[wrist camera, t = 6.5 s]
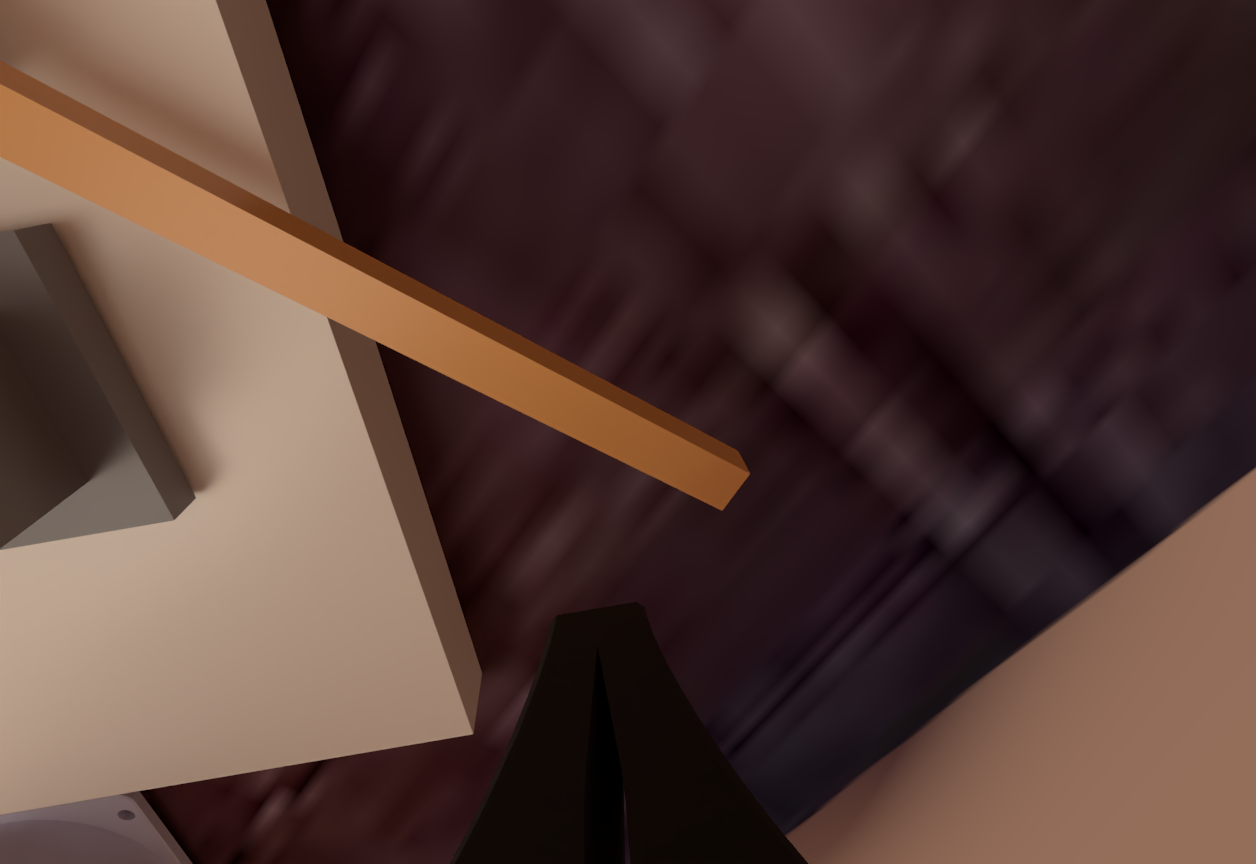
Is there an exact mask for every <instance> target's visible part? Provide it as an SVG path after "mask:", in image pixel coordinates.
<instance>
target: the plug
mask: <svg viewBox="0 0 1256 864" xmlns="http://www.w3.org/2000/svg"><path fill="white" fill-rule="evenodd" d="M195 499H196V497H195V495H194V493H193V491H192V489H191V487H190V485H189V483H188V481H187V480H186V478H185V476H184V474H183V472H182V470H181V468H180V466H179V464H178V462H177V461H176V459H175V457H174V455H173V453H172V451H171V449H170V447H169V445H168V443H167V442H166V440H165V438H164V436H163V434H162V432H161V430H160V428H159V426H158V425H157V423H156V421H155V419H154V417H153V415H152V413H151V411H150V409H149V407H148V406H147V404H146V402H145V400H144V398H143V396H142V394H141V392H140V390H139V388H138V387H137V385H136V383H135V381H134V379H133V377H132V375H131V373H130V371H129V369H128V368H127V366H126V364H125V362H124V360H123V358H122V356H121V354H120V352H119V350H118V349H117V347H116V345H115V343H114V341H113V339H112V337H111V335H110V333H109V331H108V330H107V328H106V326H105V324H104V322H103V320H102V318H101V316H100V314H99V313H98V311H97V309H96V307H95V305H94V303H93V301H92V299H91V297H90V295H89V294H88V292H87V290H86V288H85V286H84V284H83V282H82V280H81V278H80V276H79V275H78V273H77V271H76V269H75V267H74V265H73V263H72V261H71V259H70V257H69V256H68V254H67V252H66V250H65V248H64V246H63V244H62V242H61V240H60V238H59V237H58V235H57V233H56V231H55V229H54V227H53V225H52V223H47V224H41V225H35V226H29V227H22V228H16V229H10V230H4V231H0V550H4V549H9V548H15V547H21V546H27V545H33V544H39V543H45V542H50V541H56V540H62V539H68V538H74V537H80V536H86V535H91V534H97V533H103V532H109V531H115V530H121V529H127V528H132V527H138V526H144V525H150V524H156V523H162V522H168V521H173V520H175V519H176V518H177V517H178V516H179V515H180V514H181V513H182V512H183V511H184V510H185V509H186V508H187V507H188V506H189V505H190V504H191V503H192V502H193V501H194V500H195Z"/></svg>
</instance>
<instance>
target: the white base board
mask: <svg viewBox="0 0 1256 864" xmlns="http://www.w3.org/2000/svg"><path fill="white" fill-rule="evenodd" d="M0 60H1V61H2V62H4V63H6V64H8V65H10V66H12V67H14V68H16V69H18V70H19V71H21V72H23V73H25V74H27V75H29V76H31V77H33V78H35V79H36V80H38V81H40V82H42V83H44V84H46V85H48V86H50V87H52V88H53V89H55V90H57V91H59V92H61V93H63V94H65V95H67V96H69V97H70V98H72V99H74V100H76V101H78V102H80V103H82V104H84V105H86V106H87V107H89V108H91V109H93V110H95V111H97V112H99V113H101V114H103V115H104V116H106V117H108V118H110V119H112V120H114V121H116V122H118V123H120V124H121V125H123V126H125V127H127V128H129V129H131V130H133V131H135V132H137V133H138V134H140V135H142V136H144V137H146V138H148V139H150V140H152V141H154V142H155V143H157V144H159V145H161V146H163V147H165V148H167V149H169V150H171V151H172V152H174V153H176V154H178V155H180V156H182V157H184V158H186V159H188V160H189V161H191V162H193V163H195V164H197V165H199V166H201V167H203V168H205V169H206V170H208V171H210V172H212V173H214V174H216V175H218V176H220V177H222V178H223V179H225V180H227V181H229V182H231V183H233V184H235V185H237V186H239V187H240V188H242V189H244V190H246V191H248V192H250V193H252V194H254V195H256V196H257V197H259V198H261V199H263V200H265V201H267V202H269V203H271V204H273V205H274V206H276V207H278V208H280V209H282V210H284V211H286V212H288V213H290V214H291V215H293V216H295V217H297V218H299V219H301V220H303V221H305V222H307V223H308V224H310V225H312V226H314V227H316V228H318V229H320V230H322V231H324V232H325V233H327V234H329V235H331V236H333V237H335V238H337V239H339V240H341V241H342V242H343V239H342V236H341V233H340V230H339V227H338V224H337V220H336V217H335V214H334V211H333V208H332V205H331V202H330V199H329V196H328V192H327V189H326V186H325V183H324V180H323V177H322V174H321V171H320V168H319V165H318V161H317V158H316V155H315V152H314V149H313V146H312V143H311V140H310V137H309V133H308V130H307V127H306V124H305V121H304V118H303V115H302V112H301V109H300V105H299V102H298V99H297V96H296V93H295V90H294V87H293V84H292V81H291V77H290V74H289V71H288V68H287V65H286V62H285V59H284V56H283V53H282V49H281V46H280V43H279V40H278V37H277V34H276V31H275V28H274V25H273V21H272V18H271V15H270V12H269V9H268V6H267V3H266V0H0ZM47 223H52V225H53V227H54V229H55V231H56V233H57V235H58V237H59V238H60V240H61V242H62V244H63V246H64V248H65V250H66V252H67V254H68V256H69V257H70V259H71V261H72V263H73V265H74V267H75V269H76V271H77V273H78V275H79V276H80V278H81V280H82V282H83V284H84V286H85V288H86V290H87V292H88V294H89V295H90V297H91V299H92V301H93V303H94V305H95V307H96V309H97V311H98V313H99V314H100V316H101V318H102V320H103V322H104V324H105V326H106V328H107V330H108V331H109V333H110V335H111V337H112V339H113V341H114V343H115V345H116V347H117V349H118V350H119V352H120V354H121V356H122V358H123V360H124V362H125V364H126V366H127V368H128V369H129V371H130V373H131V375H132V377H133V379H134V381H135V383H136V385H137V387H138V388H139V390H140V392H141V394H142V396H143V398H144V400H145V402H146V404H147V406H148V407H149V409H150V411H151V413H152V415H153V417H154V419H155V421H156V423H157V425H158V426H159V428H160V430H161V432H162V434H163V436H164V438H165V440H166V442H167V443H168V445H169V447H170V449H171V451H172V453H173V455H174V457H175V459H176V461H177V462H178V464H179V466H180V468H181V470H182V472H183V474H184V476H185V478H186V480H187V481H188V483H189V485H190V487H191V489H192V491H193V493H194V495H195V497H196V499H195V500H194V501H193V502H192V503H191V504H190V505H189V506H188V507H187V508H186V509H185V510H184V511H183V512H182V513H181V514H180V515H179V516H178V517H177V518H176V519H175V520H173V521H168V522H162V523H156V524H150V525H144V526H138V527H132V528H127V529H121V530H115V531H109V532H103V533H97V534H91V535H86V536H80V537H74V538H68V539H62V540H56V541H50V542H45V543H39V544H33V545H27V546H21V547H15V548H9V549H4V550H0V815H2V814H8V813H14V812H19V811H25V810H31V809H37V808H43V807H49V806H55V805H60V804H66V803H72V802H78V801H84V800H90V799H96V798H102V797H107V796H113V795H119V794H125V793H131V792H137V791H143V790H148V789H154V788H160V787H166V786H172V785H178V784H184V783H190V782H195V781H201V780H207V779H213V778H219V777H225V776H231V775H237V774H242V773H248V772H254V771H260V770H266V769H272V768H278V767H283V766H289V765H295V764H301V763H307V762H313V761H319V760H325V759H330V758H336V757H342V756H348V755H354V754H360V753H366V752H371V751H377V750H383V749H389V748H395V747H401V746H407V745H413V744H418V743H424V742H430V741H436V740H442V739H448V738H454V737H460V736H465V735H471V734H473V732H474V725H475V719H476V712H477V705H478V698H479V691H480V684H481V677H482V671H481V668H480V665H479V662H478V659H477V656H476V653H475V650H474V646H473V643H472V640H471V637H470V634H469V631H468V628H467V625H466V622H465V618H464V615H463V612H462V609H461V606H460V603H459V600H458V597H457V594H456V590H455V587H454V584H453V581H452V578H451V575H450V572H449V569H448V566H447V562H446V559H445V556H444V553H443V550H442V547H441V544H440V541H439V538H438V534H437V531H436V528H435V525H434V522H433V519H432V516H431V513H430V510H429V507H428V503H427V500H426V497H425V494H424V491H423V488H422V485H421V482H420V479H419V475H418V472H417V469H416V466H415V463H414V460H413V457H412V454H411V451H410V447H409V444H408V441H407V438H406V435H405V432H404V429H403V426H402V423H401V419H400V416H399V413H398V410H397V407H396V404H395V401H394V398H393V395H392V391H391V388H390V385H389V382H388V379H387V376H386V373H385V370H384V367H383V363H382V360H381V357H380V354H379V351H378V348H377V345H376V342H375V340H373V339H371V338H369V337H367V336H365V335H363V334H360V333H358V332H356V331H354V330H352V329H350V328H348V327H346V326H344V325H342V324H340V323H338V322H336V321H334V320H332V319H330V318H328V317H326V316H324V315H322V314H320V313H318V312H316V311H314V310H312V309H309V308H307V307H305V306H303V305H301V304H299V303H297V302H295V301H293V300H291V299H289V298H287V297H285V296H283V295H281V294H279V293H277V292H275V291H273V290H271V289H269V288H267V287H265V286H263V285H260V284H258V283H256V282H254V281H252V280H250V279H248V278H246V277H244V276H242V275H240V274H238V273H236V272H234V271H232V270H230V269H228V268H226V267H224V266H222V265H220V264H218V263H216V262H214V261H212V260H209V259H207V258H205V257H203V256H201V255H199V254H197V253H195V252H193V251H191V250H189V249H187V248H185V247H183V246H181V245H179V244H177V243H175V242H173V241H171V240H169V239H167V238H165V237H163V236H160V235H158V234H156V233H154V232H152V231H150V230H148V229H146V228H144V227H142V226H140V225H138V224H136V223H134V222H132V221H130V220H128V219H126V218H124V217H122V216H120V215H118V214H116V213H114V212H112V211H109V210H107V209H105V208H103V207H101V206H99V205H97V204H95V203H93V202H91V201H89V200H87V199H85V198H83V197H81V196H79V195H77V194H75V193H73V192H71V191H69V190H67V189H65V188H63V187H61V186H58V185H56V184H54V183H52V182H50V181H48V180H46V179H44V178H42V177H40V176H38V175H36V174H34V173H32V172H30V171H28V170H26V169H24V168H22V167H20V166H18V165H16V164H14V163H12V162H9V161H7V160H5V159H3V158H1V157H0V231H4V230H10V229H16V228H22V227H29V226H35V225H41V224H47Z"/></svg>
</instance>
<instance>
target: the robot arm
mask: <svg viewBox="0 0 1256 864" xmlns="http://www.w3.org/2000/svg"><path fill="white" fill-rule="evenodd" d="M623 784H624V787H623ZM624 791H625V798H626V810H627V823H628V835H629V848H630V860H631V864H808V863H807V862H806V860H805V859H804V858H803V857H802V856H801V854H800V853H799V852H798V851H797V850H796V848H795V847H794V846H793V845H792V844H791V843H790V841H789V840H788V839H787V838H786V837H785V835H784V834H783V833H782V832H781V830H780V829H779V828H778V827H777V825H776V824H775V823H774V822H773V820H772V819H771V818H770V817H769V815H768V814H767V813H766V812H765V810H764V809H763V808H762V807H761V805H760V804H759V803H758V801H757V800H756V799H755V798H754V796H753V795H752V794H751V792H750V791H749V790H748V788H747V787H746V786H745V784H744V783H743V782H742V780H741V779H740V777H739V776H738V775H737V773H736V772H735V771H734V769H733V768H732V766H731V765H730V764H729V762H728V761H727V759H726V758H725V756H724V755H723V753H722V752H721V751H720V749H719V748H718V746H717V745H716V743H715V742H714V740H713V739H712V737H711V736H710V734H709V733H708V731H707V730H706V728H705V727H704V725H703V724H702V722H701V721H700V719H699V717H698V716H697V714H696V713H695V711H694V709H693V708H692V706H691V704H690V703H689V701H688V699H687V698H686V696H685V694H684V693H683V691H682V689H681V688H680V686H679V684H678V683H677V681H676V679H675V677H674V675H673V674H672V672H671V670H670V668H669V666H668V664H667V662H666V660H665V658H664V656H663V654H662V652H661V650H660V648H659V646H658V644H657V642H656V639H655V637H654V635H653V632H652V630H651V628H650V625H649V622H648V619H647V616H646V613H645V608H644V607H643V606H642V605H640V604H638V603H637V602H634V603H628V604H622V605H616V606H610V607H604V608H598V609H592V610H586V611H581V612H575V613H569V614H563V615H557V616H556V617H555V618H554V619H553V621H552V622H551V624H550V628H549V632H548V636H547V640H546V643H545V647H544V650H543V654H542V657H541V660H540V663H539V666H538V669H537V672H536V675H535V678H534V681H533V683H532V686H531V689H530V692H529V695H528V697H527V700H526V702H525V705H524V707H523V710H522V712H521V715H520V717H519V720H518V722H517V725H516V727H515V730H514V732H513V735H512V737H511V740H510V742H509V745H508V747H507V749H506V751H505V754H504V756H503V758H502V760H501V762H500V764H499V767H498V769H497V771H496V773H495V775H494V777H493V780H492V782H491V784H490V786H489V788H488V790H487V793H486V795H485V797H484V799H483V801H482V803H481V805H480V807H479V809H478V811H477V813H476V815H475V817H474V819H473V821H472V823H471V825H470V827H469V829H468V831H467V833H466V835H465V837H464V839H463V841H462V843H461V845H460V846H459V848H458V850H457V852H456V854H455V856H454V858H453V859H452V861H451V863H450V864H625V831H624ZM0 864H193V863H192V862H191V861H190V859H189V858H188V857H187V855H186V854H185V853H184V851H183V850H182V848H181V847H180V846H179V844H178V843H177V842H176V840H175V839H174V838H173V836H172V835H171V834H170V832H169V831H168V829H167V828H166V827H165V825H164V824H163V823H162V821H161V820H160V819H159V817H158V816H157V814H156V813H155V812H154V810H153V809H152V808H151V806H150V805H149V804H148V802H147V801H146V800H145V798H144V797H143V795H142V794H141V793H140V792H139V791H137V792H131V793H125V794H119V795H113V796H107V797H102V798H96V799H90V800H84V801H78V802H72V803H66V804H60V805H55V806H49V807H43V808H37V809H31V810H25V811H19V812H14V813H8V814H2V815H0Z"/></svg>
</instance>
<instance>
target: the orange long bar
mask: <svg viewBox="0 0 1256 864" xmlns="http://www.w3.org/2000/svg"><path fill="white" fill-rule="evenodd" d="M0 157H1V158H3V159H5V160H7V161H9V162H12V163H14V164H16V165H18V166H20V167H22V168H24V169H26V170H28V171H30V172H32V173H34V174H36V175H38V176H40V177H42V178H44V179H46V180H48V181H50V182H52V183H54V184H56V185H58V186H61V187H63V188H65V189H67V190H69V191H71V192H73V193H75V194H77V195H79V196H81V197H83V198H85V199H87V200H89V201H91V202H93V203H95V204H97V205H99V206H101V207H103V208H105V209H107V210H109V211H112V212H114V213H116V214H118V215H120V216H122V217H124V218H126V219H128V220H130V221H132V222H134V223H136V224H138V225H140V226H142V227H144V228H146V229H148V230H150V231H152V232H154V233H156V234H158V235H160V236H163V237H165V238H167V239H169V240H171V241H173V242H175V243H177V244H179V245H181V246H183V247H185V248H187V249H189V250H191V251H193V252H195V253H197V254H199V255H201V256H203V257H205V258H207V259H209V260H212V261H214V262H216V263H218V264H220V265H222V266H224V267H226V268H228V269H230V270H232V271H234V272H236V273H238V274H240V275H242V276H244V277H246V278H248V279H250V280H252V281H254V282H256V283H258V284H260V285H263V286H265V287H267V288H269V289H271V290H273V291H275V292H277V293H279V294H281V295H283V296H285V297H287V298H289V299H291V300H293V301H295V302H297V303H299V304H301V305H303V306H305V307H307V308H309V309H312V310H314V311H316V312H318V313H320V314H322V315H324V316H326V317H328V318H330V319H332V320H334V321H336V322H338V323H340V324H342V325H344V326H346V327H348V328H350V329H352V330H354V331H356V332H358V333H360V334H363V335H365V336H367V337H369V338H371V339H373V340H375V341H377V342H379V343H381V344H383V345H385V346H387V347H389V348H391V349H393V350H395V351H397V352H399V353H401V354H403V355H405V356H407V357H409V358H411V359H414V360H416V361H418V362H420V363H422V364H424V365H426V366H428V367H430V368H432V369H434V370H436V371H438V372H440V373H442V374H444V375H446V376H448V377H450V378H452V379H454V380H456V381H458V382H460V383H463V384H465V385H467V386H469V387H471V388H473V389H475V390H477V391H479V392H481V393H483V394H485V395H487V396H489V397H491V398H493V399H495V400H497V401H499V402H501V403H503V404H505V405H507V406H509V407H511V408H514V409H516V410H518V411H520V412H522V413H524V414H526V415H528V416H530V417H532V418H534V419H536V420H538V421H540V422H542V423H544V424H546V425H548V426H550V427H552V428H554V429H556V430H558V431H560V432H562V433H565V434H567V435H569V436H571V437H573V438H575V439H577V440H579V441H581V442H583V443H585V444H587V445H589V446H591V447H593V448H595V449H597V450H599V451H601V452H603V453H605V454H607V455H609V456H611V457H614V458H616V459H618V460H620V461H622V462H624V463H626V464H628V465H630V466H632V467H634V468H636V469H638V470H640V471H642V472H644V473H646V474H648V475H650V476H652V477H654V478H656V479H658V480H660V481H662V482H665V483H667V484H669V485H671V486H673V487H675V488H677V489H679V490H681V491H683V492H685V493H687V494H689V495H691V496H693V497H695V498H697V499H699V500H701V501H703V502H705V503H707V504H709V505H711V506H714V507H716V508H718V509H720V510H723V509H724V508H725V506H726V505H727V504H728V502H729V501H730V500H731V498H732V497H733V496H734V494H735V493H736V492H737V490H738V489H739V488H740V486H741V485H742V484H743V482H744V481H745V480H746V479H747V477H748V476H749V475H750V472H749V471H748V469H747V467H746V465H745V463H744V461H743V459H742V457H741V456H740V454H739V452H738V451H737V450H735V449H734V448H732V447H730V446H728V445H726V444H724V443H722V442H720V441H718V440H717V439H715V438H713V437H711V436H709V435H707V434H705V433H703V432H701V431H700V430H698V429H696V428H694V427H692V426H690V425H688V424H686V423H684V422H683V421H681V420H679V419H677V418H675V417H673V416H671V415H669V414H667V413H666V412H664V411H662V410H660V409H658V408H656V407H654V406H652V405H650V404H649V403H647V402H645V401H643V400H641V399H639V398H637V397H635V396H633V395H632V394H630V393H628V392H626V391H624V390H622V389H620V388H618V387H616V386H615V385H613V384H611V383H609V382H607V381H605V380H603V379H601V378H599V377H598V376H596V375H594V374H592V373H590V372H588V371H586V370H584V369H582V368H581V367H579V366H577V365H575V364H573V363H571V362H569V361H567V360H565V359H564V358H562V357H560V356H558V355H556V354H554V353H552V352H550V351H548V350H547V349H545V348H543V347H541V346H539V345H537V344H535V343H533V342H531V341H530V340H528V339H526V338H524V337H522V336H520V335H518V334H516V333H514V332H513V331H511V330H509V329H507V328H505V327H503V326H501V325H499V324H497V323H495V322H494V321H492V320H490V319H488V318H486V317H484V316H482V315H480V314H478V313H477V312H475V311H473V310H471V309H469V308H467V307H465V306H463V305H461V304H460V303H458V302H456V301H454V300H452V299H450V298H448V297H446V296H444V295H443V294H441V293H439V292H437V291H435V290H433V289H431V288H429V287H427V286H426V285H424V284H422V283H420V282H418V281H416V280H414V279H412V278H410V277H409V276H407V275H405V274H403V273H401V272H399V271H397V270H395V269H393V268H392V267H390V266H388V265H386V264H384V263H382V262H380V261H378V260H376V259H375V258H373V257H371V256H369V255H367V254H365V253H363V252H361V251H359V250H358V249H356V248H354V247H352V246H350V245H348V244H346V243H344V242H342V241H341V240H339V239H337V238H335V237H333V236H331V235H329V234H327V233H325V232H324V231H322V230H320V229H318V228H316V227H314V226H312V225H310V224H308V223H307V222H305V221H303V220H301V219H299V218H297V217H295V216H293V215H291V214H290V213H288V212H286V211H284V210H282V209H280V208H278V207H276V206H274V205H273V204H271V203H269V202H267V201H265V200H263V199H261V198H259V197H257V196H256V195H254V194H252V193H250V192H248V191H246V190H244V189H242V188H240V187H239V186H237V185H235V184H233V183H231V182H229V181H227V180H225V179H223V178H222V177H220V176H218V175H216V174H214V173H212V172H210V171H208V170H206V169H205V168H203V167H201V166H199V165H197V164H195V163H193V162H191V161H189V160H188V159H186V158H184V157H182V156H180V155H178V154H176V153H174V152H172V151H171V150H169V149H167V148H165V147H163V146H161V145H159V144H157V143H155V142H154V141H152V140H150V139H148V138H146V137H144V136H142V135H140V134H138V133H137V132H135V131H133V130H131V129H129V128H127V127H125V126H123V125H121V124H120V123H118V122H116V121H114V120H112V119H110V118H108V117H106V116H104V115H103V114H101V113H99V112H97V111H95V110H93V109H91V108H89V107H87V106H86V105H84V104H82V103H80V102H78V101H76V100H74V99H72V98H70V97H69V96H67V95H65V94H63V93H61V92H59V91H57V90H55V89H53V88H52V87H50V86H48V85H46V84H44V83H42V82H40V81H38V80H36V79H35V78H33V77H31V76H29V75H27V74H25V73H23V72H21V71H19V70H18V69H16V68H14V67H12V66H10V65H8V64H6V63H4V62H2V61H1V60H0Z"/></svg>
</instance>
